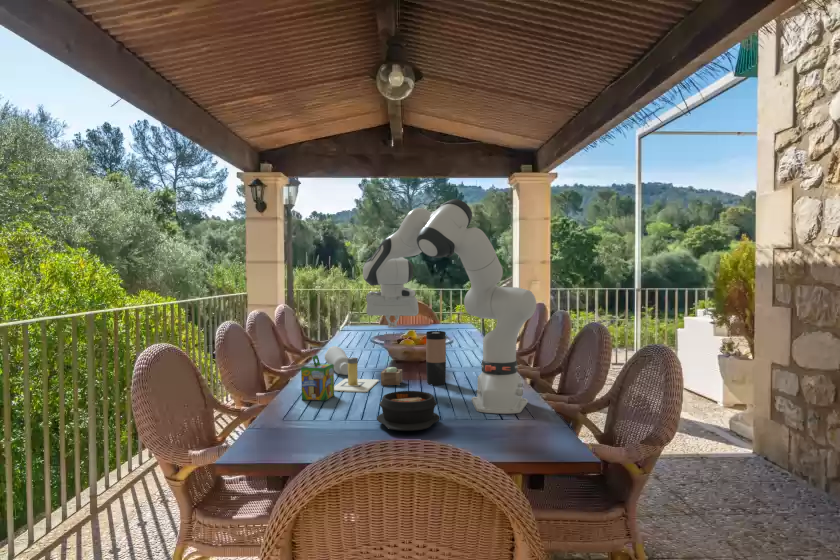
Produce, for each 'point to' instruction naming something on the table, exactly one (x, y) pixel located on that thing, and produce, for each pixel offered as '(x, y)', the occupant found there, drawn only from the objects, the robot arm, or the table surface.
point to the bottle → (337, 360)
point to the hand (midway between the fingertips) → (392, 327)
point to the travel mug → (436, 357)
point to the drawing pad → (362, 385)
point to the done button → (391, 369)
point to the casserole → (408, 410)
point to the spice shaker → (352, 371)
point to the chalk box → (317, 381)
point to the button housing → (391, 377)
